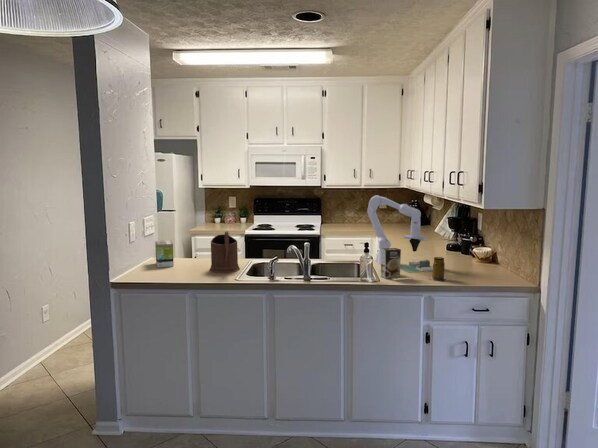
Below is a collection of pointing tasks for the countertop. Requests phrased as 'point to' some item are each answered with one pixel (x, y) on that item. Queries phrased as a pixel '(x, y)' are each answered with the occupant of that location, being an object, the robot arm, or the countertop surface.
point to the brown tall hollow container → (224, 254)
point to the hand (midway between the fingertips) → (414, 251)
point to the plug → (424, 263)
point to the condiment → (438, 269)
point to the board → (416, 269)
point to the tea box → (164, 254)
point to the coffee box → (390, 262)
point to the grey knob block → (414, 263)
